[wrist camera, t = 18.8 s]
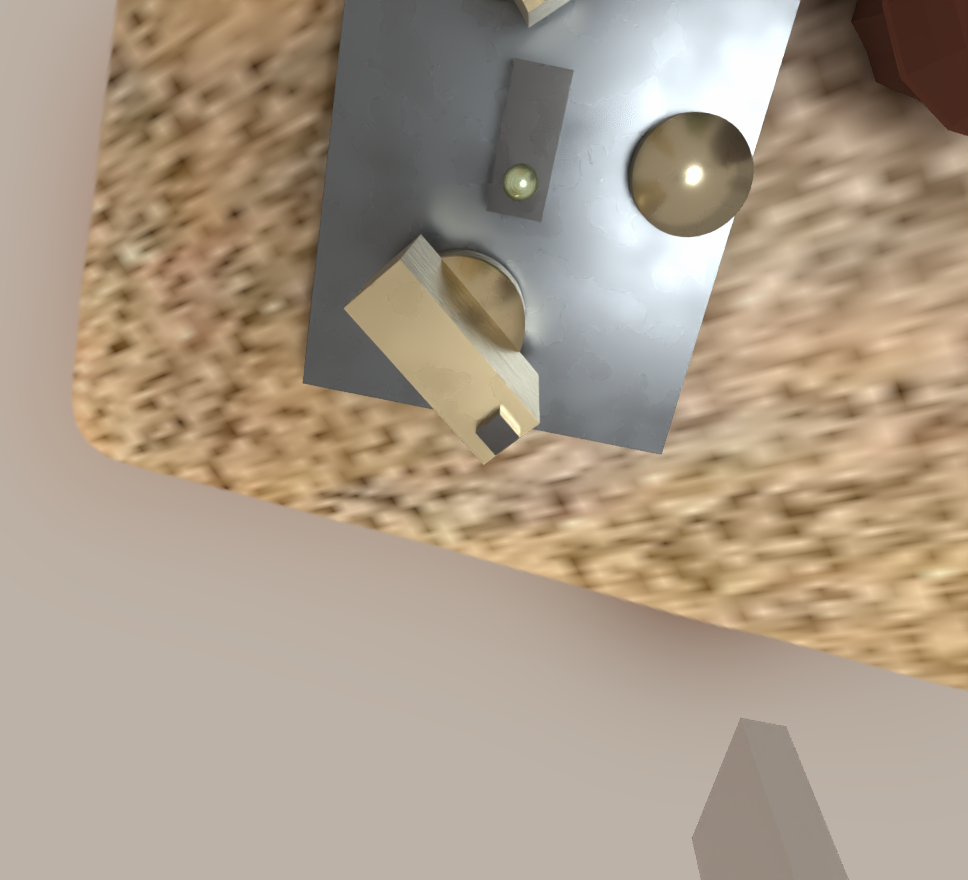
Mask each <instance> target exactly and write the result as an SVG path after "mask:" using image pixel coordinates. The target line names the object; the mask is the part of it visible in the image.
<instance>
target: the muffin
mask: <svg viewBox="0 0 968 880" xmlns="http://www.w3.org/2000/svg"><path fill="white" fill-rule="evenodd" d="M851 22H852V24H853V25H854V27H855V29H856V31H857V33H858V35H859V37H860V39H861V40H862V42H863V44H864V46H865V48H866V50H867V53H868V56H869V60H870V63H871V66H872V70H873V73H874V77H875V80H876V82H878V83H880V84H883V85H885V86H887V87H890V88H892V89H895V90H897V91H899V92H902V93H904V94H907V95H909V96H911V97H914V98H916V99H918V100H920V101H921V102H923V103H924V104H925V106H926V107H927V108H928V109H929V110H930V111H931V112H932V113H933V114H934V115H935V116H936V117H937V118H938V120H939V121H940V122H941V123H942V124H943V125H944V126H945V127H946V128H947V129H948V130H950V131H954V132H957V133H960V134H963V135H967V136H968V0H858V1H857V4H856V7H855V11H854V14H853V17H852V20H851Z"/></svg>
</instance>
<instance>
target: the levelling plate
mask: <svg viewBox="0 0 968 880" xmlns="http://www.w3.org/2000/svg"><path fill="white" fill-rule="evenodd" d="M799 3H800V0H570V1H568V2H567V3H565V4H564V5H562V6H561V7H559V8H558V9H556V10H555V11H553V12H552V13H550V14H549V15H547V16H546V17H544V18H543V19H541V20H540V21H538V22H537V23H536V24H534V25H533V26H531V27H530V28H528V26H527V24H526V22H525V20H524V18H523V16H522V14H521V12H520V10H519V8H518V6H517V4H516V3H515V1H514V0H345V3H344V12H343V21H342V30H341V39H340V48H339V57H338V67H337V76H336V85H335V94H334V103H333V112H332V121H331V130H330V139H329V149H328V158H327V167H326V176H325V185H324V194H323V203H322V212H321V221H320V230H319V240H318V249H317V258H316V267H315V276H314V285H313V294H312V303H311V312H310V321H309V331H308V340H307V349H306V358H305V367H304V376H303V383H304V384H309V385H314V386H319V387H324V388H329V389H334V390H339V391H344V392H349V393H354V394H359V395H364V396H369V397H374V398H379V399H384V400H390V401H395V402H400V403H405V404H410V405H415V406H420V407H425V408H430V409H433V408H432V407H431V406H430V404H429V403H428V402H427V401H426V400H425V399H424V398H423V397H422V395H421V394H420V393H419V392H418V391H417V390H416V389H415V388H414V387H413V385H412V384H411V383H410V382H409V381H408V380H407V379H406V378H405V377H404V375H403V374H402V373H401V372H400V371H399V370H398V369H397V368H396V366H395V365H394V364H393V363H392V362H391V361H390V360H389V359H388V358H387V356H386V355H385V354H384V353H383V352H382V351H381V350H380V349H379V347H378V346H377V345H376V344H375V343H374V342H373V341H372V340H371V339H370V337H369V336H368V335H367V334H366V333H365V332H364V331H363V330H362V328H361V327H360V326H359V325H358V324H357V323H356V322H355V321H354V320H353V318H352V317H351V316H350V315H349V314H348V313H347V312H346V311H345V310H344V308H345V306H346V305H347V304H348V303H349V302H350V301H351V300H352V299H353V297H354V296H355V295H356V294H357V293H358V292H359V291H360V290H361V288H362V287H363V286H364V285H365V284H366V283H367V282H368V281H369V280H370V278H371V277H372V276H373V275H374V274H375V273H377V272H378V271H379V270H380V269H381V268H382V267H384V266H385V265H386V264H387V263H388V262H389V261H390V260H392V259H393V258H394V257H395V256H396V255H397V254H398V253H400V252H401V251H402V250H403V249H404V248H405V247H407V246H408V245H409V244H410V243H411V242H412V241H413V240H415V239H416V238H417V237H418V236H419V235H420V234H422V236H423V237H424V238H425V239H426V240H427V242H428V243H429V244H430V245H431V246H432V248H433V249H434V250H435V251H436V252H437V253H440V252H444V251H448V250H457V249H460V250H471V251H476V252H479V253H482V254H485V255H487V256H489V257H491V258H493V259H494V260H496V261H497V262H499V263H500V264H501V265H503V266H504V267H505V268H506V269H507V270H508V271H509V272H510V273H511V275H512V276H513V278H514V279H515V280H516V282H517V284H518V286H519V288H520V290H521V293H522V296H523V299H524V304H525V334H524V340H523V344H522V347H521V350H520V353H521V354H522V355H523V356H524V358H525V359H526V360H527V361H528V362H529V364H530V365H531V366H532V367H533V368H534V370H535V371H536V372H537V373H538V378H539V411H540V424H538V425H537V426H535V427H534V428H533V429H535V430H540V431H545V432H550V433H555V434H561V435H566V436H571V437H576V438H581V439H586V440H591V441H596V442H601V443H606V444H611V445H616V446H621V447H626V448H631V449H636V450H641V451H646V452H651V453H656V454H662V451H663V447H664V444H665V441H666V438H667V434H668V431H669V428H670V425H671V421H672V418H673V415H674V411H675V408H676V405H677V402H678V398H679V395H680V392H681V389H682V385H683V382H684V379H685V376H686V372H687V369H688V366H689V362H690V359H691V356H692V353H693V349H694V346H695V343H696V340H697V336H698V333H699V330H700V327H701V323H702V320H703V317H704V313H705V310H706V307H707V304H708V300H709V297H710V294H711V291H712V287H713V284H714V281H715V278H716V274H717V271H718V268H719V264H720V261H721V258H722V255H723V251H724V248H725V245H726V242H727V238H728V235H729V232H730V228H731V225H732V222H733V219H734V216H735V215H736V214H737V212H738V211H739V210H740V209H741V207H742V206H743V204H744V202H745V200H746V198H747V197H748V194H749V191H750V189H751V184H752V180H753V158H752V157H753V153H754V150H755V147H756V144H757V140H758V137H759V134H760V130H761V127H762V124H763V121H764V117H765V114H766V111H767V108H768V104H769V101H770V98H771V94H772V91H773V88H774V85H775V81H776V78H777V75H778V72H779V68H780V65H781V62H782V59H783V55H784V52H785V49H786V45H787V42H788V39H789V36H790V32H791V29H792V26H793V23H794V19H795V16H796V13H797V10H798V6H799Z"/></svg>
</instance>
